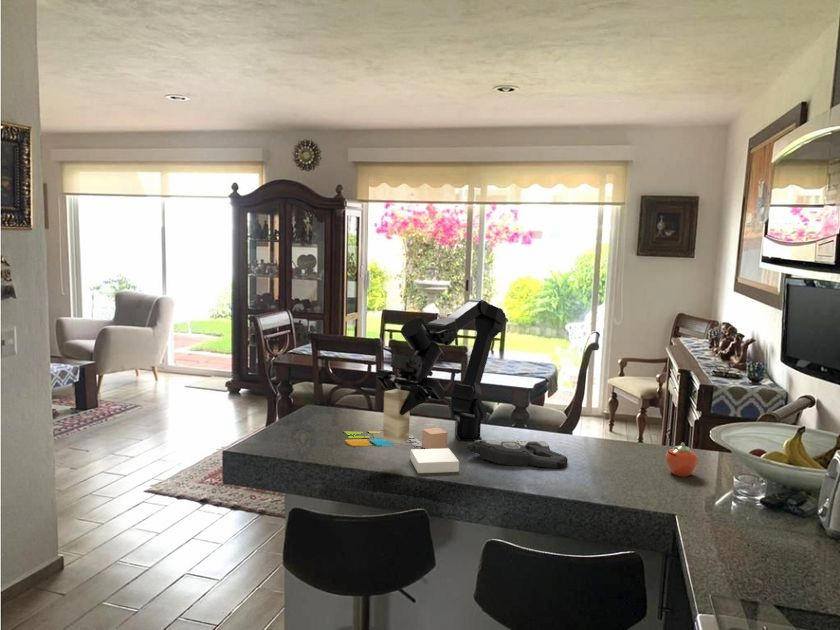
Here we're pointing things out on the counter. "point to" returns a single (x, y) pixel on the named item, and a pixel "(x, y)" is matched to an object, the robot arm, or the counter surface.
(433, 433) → the terracotta cube
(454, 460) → the slab
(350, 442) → the logo
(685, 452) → the tomato
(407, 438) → the beech block
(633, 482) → the counter surface
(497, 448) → the sci-fi pistol
